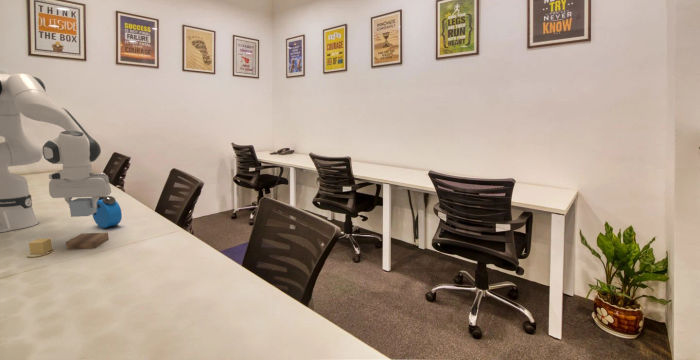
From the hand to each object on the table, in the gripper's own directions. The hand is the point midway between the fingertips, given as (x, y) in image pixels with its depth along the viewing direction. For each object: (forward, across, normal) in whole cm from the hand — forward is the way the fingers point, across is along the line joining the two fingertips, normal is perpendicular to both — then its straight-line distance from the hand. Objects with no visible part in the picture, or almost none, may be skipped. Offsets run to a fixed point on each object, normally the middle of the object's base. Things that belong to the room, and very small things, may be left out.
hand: (83, 207), depth 136 cm
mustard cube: (+15, +13, +6) cm, 21 cm away
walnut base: (+15, 0, 0) cm, 15 cm away
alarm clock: (+15, +4, -23) cm, 28 cm away
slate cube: (+3, 0, 0) cm, 3 cm away
